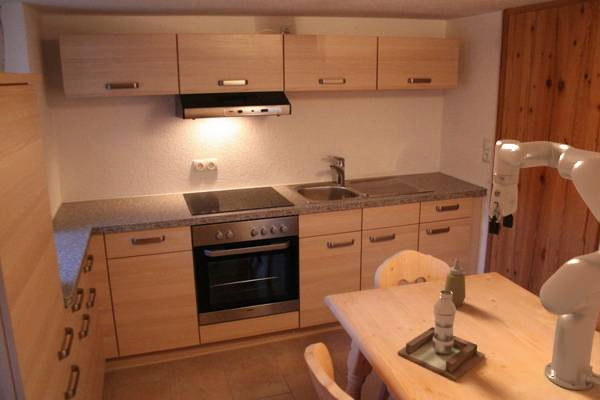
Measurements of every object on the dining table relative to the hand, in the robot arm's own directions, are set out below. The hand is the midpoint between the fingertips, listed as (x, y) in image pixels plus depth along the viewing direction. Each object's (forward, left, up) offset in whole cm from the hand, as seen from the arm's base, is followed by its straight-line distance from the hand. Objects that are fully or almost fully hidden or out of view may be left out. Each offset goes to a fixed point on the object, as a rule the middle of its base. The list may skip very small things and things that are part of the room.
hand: (500, 230), depth 161 cm
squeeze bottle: (+20, -10, -36) cm, 43 cm away
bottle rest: (+4, +26, -36) cm, 45 cm away
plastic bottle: (+4, +25, -35) cm, 44 cm away
